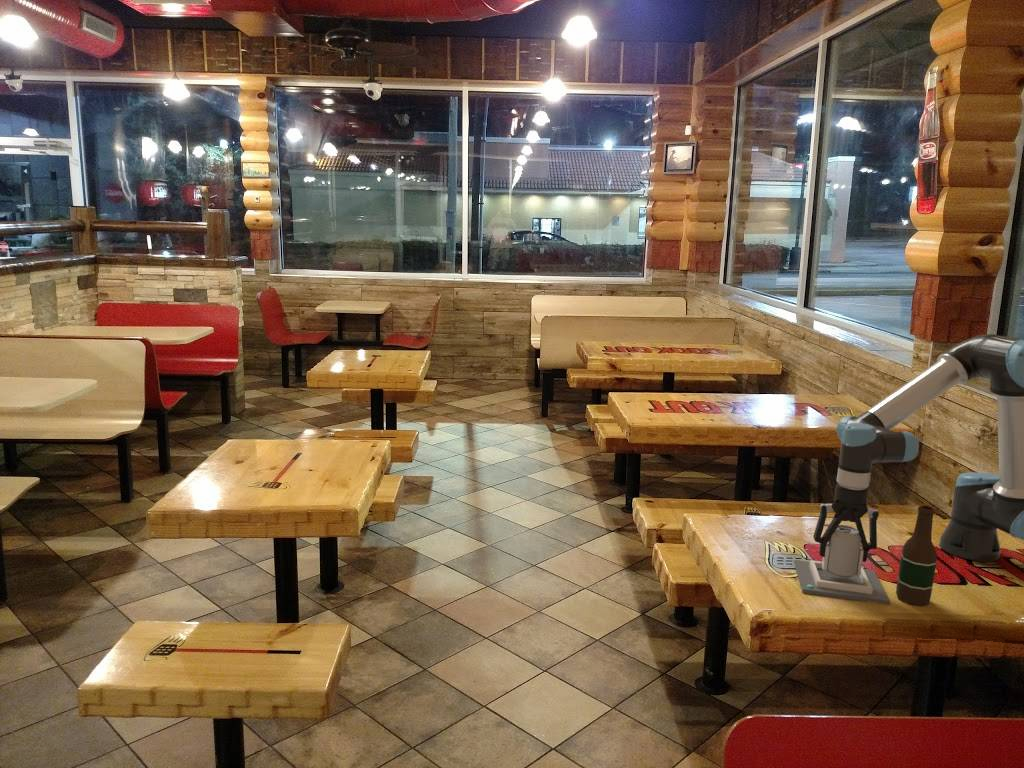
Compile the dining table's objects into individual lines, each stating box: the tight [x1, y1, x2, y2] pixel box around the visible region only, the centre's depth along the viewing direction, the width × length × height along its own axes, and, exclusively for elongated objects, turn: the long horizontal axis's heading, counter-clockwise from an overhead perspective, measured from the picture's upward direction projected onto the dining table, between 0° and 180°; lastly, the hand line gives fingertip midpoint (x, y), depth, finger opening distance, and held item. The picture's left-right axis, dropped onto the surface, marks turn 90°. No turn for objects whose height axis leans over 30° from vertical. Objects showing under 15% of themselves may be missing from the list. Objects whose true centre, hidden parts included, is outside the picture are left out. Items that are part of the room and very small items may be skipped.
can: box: [827, 524, 862, 578], centre depth 197 cm, size 8×8×12 cm
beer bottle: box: [895, 505, 938, 607], centre depth 189 cm, size 8×8×24 cm
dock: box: [793, 559, 891, 605], centre depth 199 cm, size 20×18×2 cm
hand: (840, 570), depth 198 cm, fingers closed on can, 7 cm apart
